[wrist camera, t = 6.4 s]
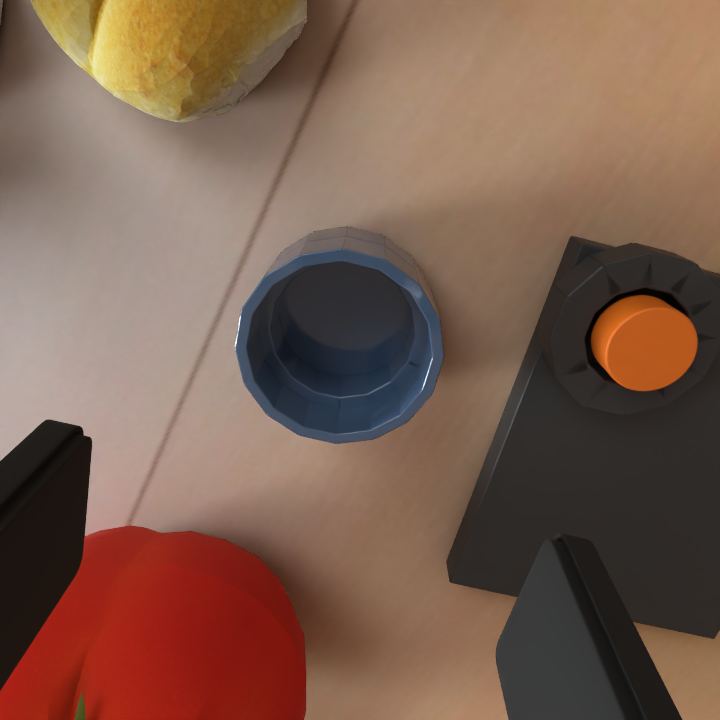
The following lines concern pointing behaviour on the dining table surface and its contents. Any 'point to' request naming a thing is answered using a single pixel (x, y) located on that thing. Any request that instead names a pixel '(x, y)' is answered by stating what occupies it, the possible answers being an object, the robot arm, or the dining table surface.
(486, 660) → the dining table surface
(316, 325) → the bowl
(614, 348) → the button
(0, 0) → the flask
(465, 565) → the scale
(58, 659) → the tomato
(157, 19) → the bread roll
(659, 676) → the robot arm
